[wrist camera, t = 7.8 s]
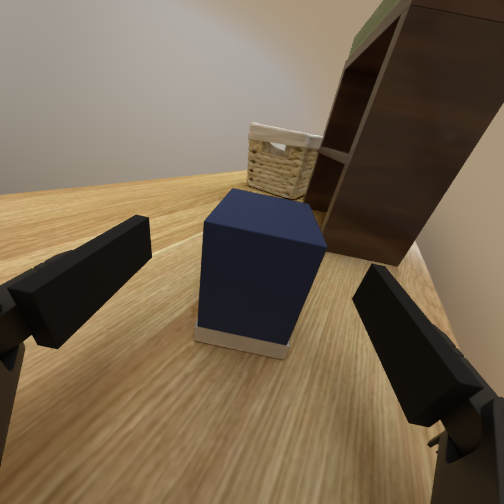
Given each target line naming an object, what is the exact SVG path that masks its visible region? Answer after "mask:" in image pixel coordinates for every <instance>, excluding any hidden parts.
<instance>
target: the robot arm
mask: <svg viewBox="0 0 504 504" xmlns="http://www.w3.org/2000/svg"><path fill="white" fill-rule="evenodd" d="M151 258H152V250H151V238H150V225H149V217H145V216H140V215H135V216H133V217H131V218H129V219H127V220H126V221H124V222H122V223H120V224H119V225H117V226H115V227H113V228H112V229H110V230H108V231H106V232H105V233H103V234H101V235H99V236H97V237H96V238H94V239H92V240H90V241H89V242H87V243H85V244H83V245H82V246H80V247H78V248H76V249H74V250H70V251H67V252H64V253H60V254H57V255H55V256H53V257H52V258H50V259H48V260H46V261H44V263H40V264H39V265H37V266H35V267H34V269H32V268H31V269H29V270H28V271H26V272H24V273H22V274H20V275H18V276H17V277H15V278H13V279H11V280H9V281H7V282H6V283H4V284H2V285H0V466H1V461H2V456H3V452H4V447H5V442H6V438H7V433H8V428H9V423H10V419H11V414H12V409H13V404H14V400H15V395H16V390H17V385H18V381H19V376H20V371H21V366H22V362H23V357H24V352H25V345H24V343H23V341H25V340H26V339H27V338H28V337H29V336H31V335H32V336H33V337H34V339H35V341H36V343H37V345H40V346H45V347H49V348H54V349H59V348H60V347H61V346H62V345H63V344H64V343H65V342H66V341H67V340H68V339H69V338H70V337H71V336H72V335H73V334H74V333H75V332H76V331H77V330H78V329H79V328H80V327H81V326H82V325H83V324H84V323H85V322H86V321H87V320H88V319H89V318H90V317H92V316H93V315H94V314H95V313H96V312H97V311H98V310H99V309H100V308H101V307H102V306H103V305H104V304H105V303H106V302H107V301H108V300H109V299H110V298H111V297H112V296H113V295H114V294H115V293H116V292H117V291H118V290H119V289H120V288H121V287H122V286H123V285H124V284H125V283H126V282H127V281H128V280H129V279H130V278H131V277H132V276H133V275H134V274H135V273H136V272H138V271H139V270H140V269H141V268H142V267H143V266H144V265H145V264H146V263H147V262H148V261H149V260H150V259H151ZM352 300H353V302H354V304H355V307H356V309H357V311H358V313H359V315H360V318H361V320H362V322H363V324H364V326H365V329H366V331H367V333H368V335H369V337H370V339H371V342H372V344H373V346H374V348H375V350H376V353H377V355H378V357H379V359H380V361H381V364H382V366H383V368H384V370H385V372H386V375H387V377H388V379H389V381H390V383H391V386H392V388H393V390H394V392H395V394H396V397H397V399H398V401H399V403H400V405H401V408H402V410H403V412H404V414H405V416H406V418H407V421H408V423H411V424H415V425H420V426H425V427H431V426H432V425H433V424H435V423H436V422H438V421H439V420H441V422H442V424H443V425H444V427H445V429H446V430H445V431H443V432H442V433H440V434H439V435H437V436H436V437H434V438H433V439H431V440H430V441H429V442H428V444H427V445H428V446H429V447H430V448H431V447H433V446H434V445H436V444H439V447H438V451H436V453H437V461H436V468H435V475H434V482H433V489H432V496H431V503H430V504H504V398H502V397H498V396H497V395H496V393H495V392H494V391H493V390H492V389H491V387H490V386H489V385H488V384H487V383H486V381H485V380H484V379H483V378H482V377H481V375H479V373H478V372H477V371H476V370H475V369H474V367H473V366H472V365H471V364H470V363H469V361H468V360H467V359H466V358H464V355H463V354H462V353H461V352H460V351H459V349H457V348H456V346H455V345H454V344H453V342H452V341H451V340H450V339H449V338H448V336H447V335H446V334H444V333H443V332H442V331H441V330H440V329H438V328H437V327H436V326H435V325H433V324H432V323H431V322H430V321H429V320H428V318H427V317H426V316H425V315H424V313H423V312H422V311H421V310H420V309H419V307H418V306H417V305H416V304H415V302H414V301H413V300H412V299H411V298H410V296H409V295H408V294H407V293H406V291H405V290H404V289H403V288H402V287H401V285H400V284H399V283H398V282H397V280H396V279H395V278H394V277H393V276H392V274H391V273H390V272H389V271H388V269H387V268H386V267H385V266H381V265H376V264H371V266H370V268H369V269H368V271H367V273H366V275H365V277H364V278H363V280H362V282H361V284H360V285H359V287H358V289H357V291H356V293H355V294H354V296H353V298H352Z"/></svg>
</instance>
